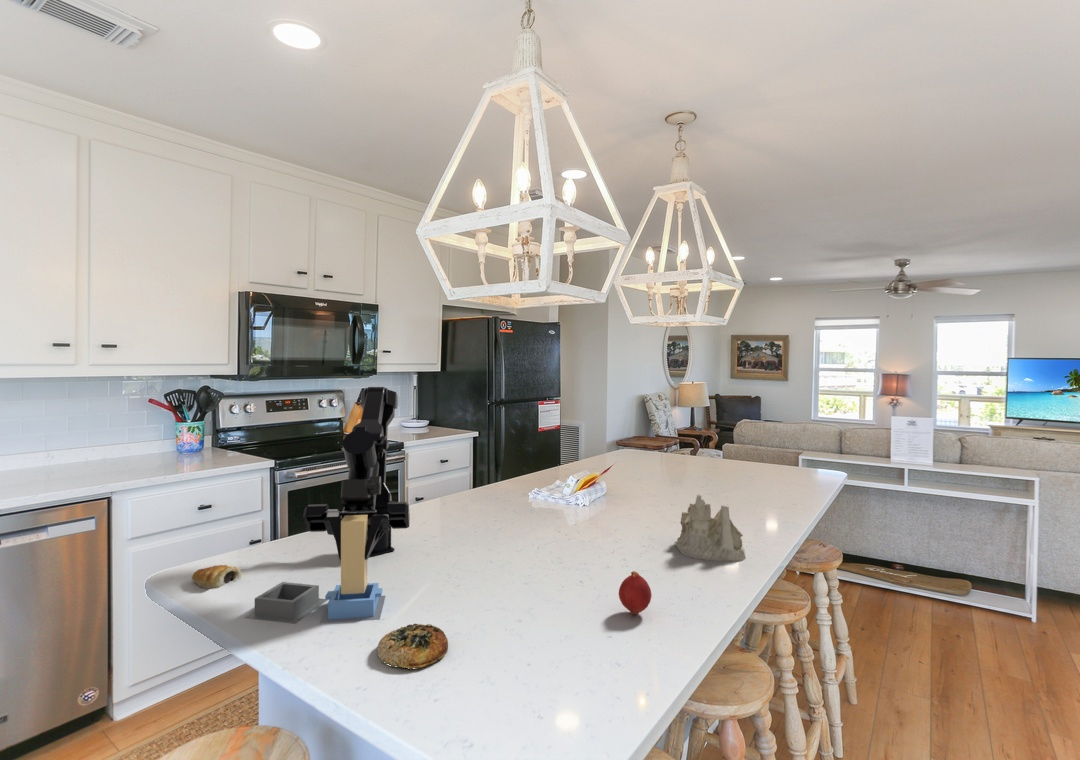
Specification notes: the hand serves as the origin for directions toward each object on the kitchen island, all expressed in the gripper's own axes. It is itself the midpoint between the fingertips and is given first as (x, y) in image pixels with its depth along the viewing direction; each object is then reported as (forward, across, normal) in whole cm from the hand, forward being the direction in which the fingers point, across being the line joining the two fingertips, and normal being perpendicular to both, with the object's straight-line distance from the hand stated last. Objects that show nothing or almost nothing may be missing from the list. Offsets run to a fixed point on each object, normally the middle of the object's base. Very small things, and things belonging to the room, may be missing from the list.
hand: (353, 559), depth 100 cm
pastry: (-6, -30, +21) cm, 37 cm away
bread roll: (+18, +11, -3) cm, 21 cm away
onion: (+12, +50, +2) cm, 52 cm away
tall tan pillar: (+3, 0, +5) cm, 6 cm away
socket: (+5, -12, +9) cm, 16 cm away
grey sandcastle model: (-10, +81, +25) cm, 85 cm away
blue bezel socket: (+6, 0, +8) cm, 10 cm away
